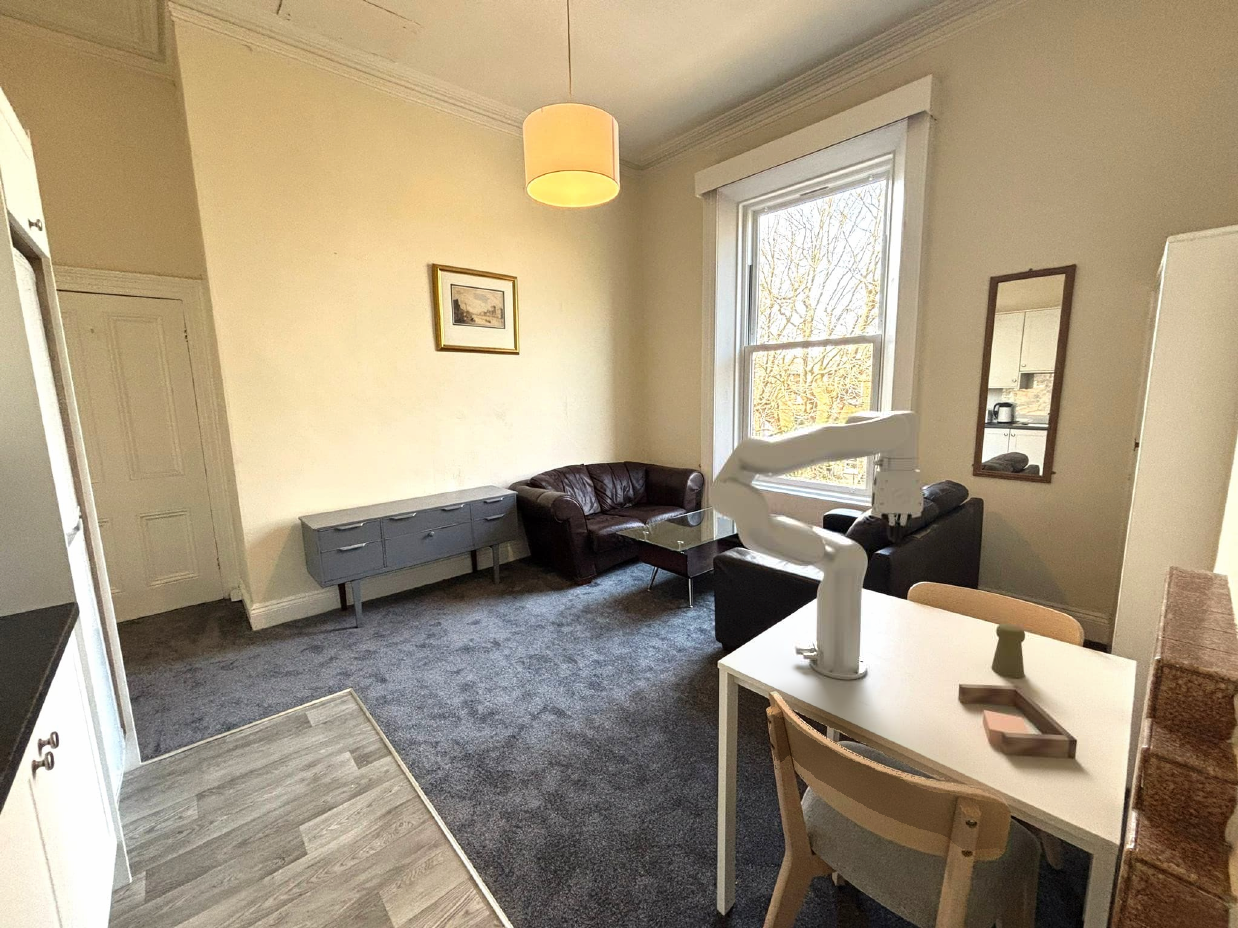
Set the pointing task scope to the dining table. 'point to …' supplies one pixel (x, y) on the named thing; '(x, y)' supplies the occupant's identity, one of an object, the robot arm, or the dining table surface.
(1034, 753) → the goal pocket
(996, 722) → the terracotta block
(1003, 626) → the cork
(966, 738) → the dining table surface
